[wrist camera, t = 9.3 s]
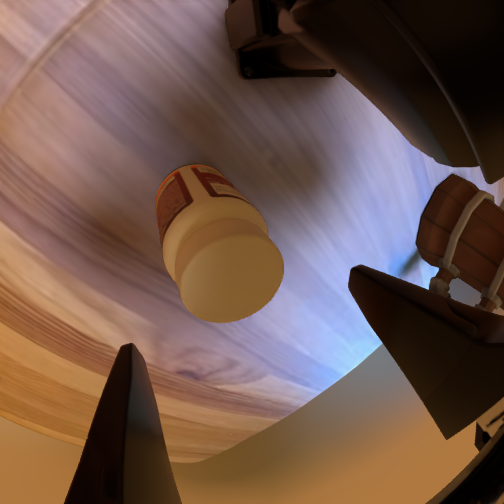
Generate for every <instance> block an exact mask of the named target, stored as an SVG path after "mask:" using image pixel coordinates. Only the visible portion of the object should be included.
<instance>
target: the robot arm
mask: <svg viewBox="0 0 504 504" xmlns="http://www.w3.org/2000/svg"><path fill="white" fill-rule="evenodd" d="M229 4H230V7H229V8H227V9H226V19H227V27H228V35H229V42H230V47H231V48H232V49H233V50H236V58H237V66H238V73H239V76H240V77H241V78H242V79H244V80H252V79H264V78H280V77H334V76H335V75H336V73H337V72H338V73H339V74H340V75H342V76H343V77H344V78H345V79H346V80H348V81H349V82H350V83H351V84H352V85H353V86H354V87H356V88H357V89H358V90H359V91H360V92H361V93H362V94H363V95H364V96H365V97H366V98H368V99H369V100H370V101H371V102H372V103H373V104H374V105H375V106H376V107H377V108H378V109H379V110H380V111H381V112H382V113H383V114H384V115H385V116H386V117H387V118H388V119H389V120H390V121H391V122H392V124H393V125H394V126H395V127H396V128H397V129H398V130H399V131H400V132H401V133H402V134H403V136H404V137H405V138H406V139H407V140H408V141H409V142H410V144H411V145H412V146H414V147H416V148H417V149H419V150H420V151H422V152H423V153H425V154H426V155H427V156H429V157H432V158H433V159H434V160H435V161H436V162H437V163H439V164H443V165H447V166H451V167H477V166H480V168H481V171H482V173H483V176H484V178H485V181H486V182H487V183H488V184H493V183H495V182H496V181H498V180H499V179H501V178H503V177H504V0H229ZM246 68H249V69H250V70H251V74H250V75H249V76H248V75H246V74H245V69H246ZM327 69H330V73H329V72H328V70H327ZM348 288H349V291H350V293H351V294H352V296H353V298H354V299H355V301H356V303H357V304H358V306H359V308H360V310H361V311H362V313H363V315H364V316H365V318H366V320H367V321H368V323H369V324H370V326H371V327H372V329H373V330H374V332H375V333H376V334H377V336H378V337H379V338H380V340H381V341H382V343H383V344H384V346H385V347H386V348H387V350H388V351H389V353H390V354H391V356H392V357H393V358H394V360H395V361H396V363H397V364H398V366H399V367H400V369H401V370H402V371H403V373H404V374H405V376H406V378H407V379H408V380H409V382H410V383H411V385H412V386H413V388H414V390H415V391H416V393H417V394H418V395H419V397H420V399H421V400H422V402H424V405H425V407H426V408H427V410H428V412H429V413H430V415H431V416H432V418H433V419H434V421H435V423H436V424H437V426H438V428H439V429H440V431H441V432H442V434H443V436H444V437H445V439H446V440H448V439H449V438H451V437H452V436H454V435H455V434H457V433H458V432H460V431H461V430H462V429H464V428H465V427H467V426H468V425H470V424H471V423H472V422H474V421H475V420H476V421H477V422H476V435H475V446H476V448H477V449H478V450H479V453H478V454H477V455H476V457H475V458H474V459H473V460H472V461H471V462H470V463H469V464H468V465H467V466H466V467H465V468H464V469H463V471H461V472H460V473H459V474H458V475H457V476H456V477H455V478H454V479H453V480H452V481H451V482H450V483H449V484H448V485H447V486H446V487H445V488H443V489H442V490H441V491H440V492H439V493H438V494H437V495H435V496H434V497H433V498H432V499H431V500H429V501H428V502H427V503H426V504H504V316H502V315H498V314H494V313H491V312H488V311H485V310H482V309H478V308H475V307H472V306H469V305H466V304H463V303H461V302H458V301H455V300H453V299H450V298H448V297H444V296H443V295H440V294H438V293H435V292H433V291H430V290H427V289H425V288H422V287H420V286H417V285H415V284H412V283H409V282H407V281H404V280H402V279H399V278H396V277H394V276H391V275H388V274H386V273H383V272H380V271H378V270H375V269H372V268H370V267H367V266H364V265H357V266H355V267H353V268H351V270H350V276H349V282H348ZM87 437H88V439H86V443H85V446H84V449H83V452H82V455H81V458H80V462H79V464H78V467H77V470H76V472H75V475H74V478H73V480H72V483H71V486H70V488H69V491H68V494H67V496H66V499H65V502H64V504H182V502H181V499H180V496H179V493H178V490H177V486H176V483H175V480H174V476H173V472H172V469H171V465H170V461H169V457H168V453H167V449H166V445H165V441H164V436H163V432H162V427H161V422H160V417H159V412H158V407H157V403H156V399H155V396H154V392H153V389H152V385H151V382H150V378H149V374H148V370H147V367H146V363H145V360H144V358H143V356H142V355H141V353H140V352H139V350H138V349H137V347H136V346H135V345H134V344H133V343H129V344H125V345H122V346H121V347H120V349H119V352H118V354H117V356H116V359H115V361H114V364H113V366H112V369H111V371H110V374H109V377H108V379H107V382H106V384H105V387H104V390H103V392H102V395H101V398H100V401H99V403H98V406H97V409H96V412H95V415H94V418H93V421H92V424H91V427H90V430H89V433H88V436H87Z"/></svg>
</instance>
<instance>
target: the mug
mask: <svg viewBox="0 0 504 504" xmlns="http://www.w3.org/2000/svg"><path fill="white" fill-rule="evenodd" d="M416 244H417V247H418V249H419V252H420V254H421V257H422V259H424V260H425V261H426V262H427V263H429V264H430V265H431V266H434V267H438V268H439V271H438V273H437V274H436V276H435V277H432V278H431V280H430V284H429V290H430V291H433V292H435V293H438V294H440V295H443V296H444V297H448V298H450V297H451V296H450V294H449V293H448V291H449V289H450V288H449V283H450V282H451V280H452V279H455V278H457V277H458V278H459V279H461V280H462V281H464V282H466V283H467V284H469V285H470V286H471V287H473V288H474V289H476V290H477V291H479V292H480V293H481V299H482V300H481V302H480V303H479V305H478V304H476V305H475V308H478V309H482V310H485V311H488V312H491V313H492V312H493V310H494V309H498V308H499V307H500V308H502V309H503V310H504V211H503V210H502V209H501V208H500V207H498V206H497V205H496V204H495V203H494V196H493V195H491V194H489V193H487V192H485V191H483V190H479V189H478V188H477V186H476V185H475V184H473V183H472V182H470V181H468V180H466V179H464V178H462V177H459V176H457V175H455V174H452V175H451V176H450V177H449V178H448V179H447V180H445V181H444V182H443V183H442V184H441V185H439V186H438V187H437V188H436V190H435V192H434V194H433V196H432V198H431V200H430V202H429V204H428V206H427V208H426V210H425V212H424V213H423V215H422V219H421V224H420V229H419V234H418V239H417V243H416ZM450 299H451V298H450Z"/></svg>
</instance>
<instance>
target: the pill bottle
mask: <svg viewBox="0 0 504 504" xmlns="http://www.w3.org/2000/svg"><path fill="white" fill-rule="evenodd" d="M156 215H157V222H158V228H159V235H160V242H161V248H162V255H163V260H164V263H165V266H166V269H167V271H168V273H169V274H170V276H171V277H172V279H173V280H174V281H175V282H176V283H177V286H178V289H179V293H180V296H181V299H182V301H183V303H184V305H185V306H186V308H187V309H188V310H189V311H190V312H191V313H192V314H193V315H195V316H196V317H198V318H200V319H202V320H205V321H209V322H216V323H226V322H233V321H237V320H240V319H243V318H246V317H248V316H250V315H252V314H254V313H255V312H257V311H259V310H260V309H261V308H263V307H264V306H265V305H266V304H267V303H268V302H269V301H270V300H271V299H272V298H273V297H274V295H275V294H276V292H277V290H278V289H279V287H280V284H281V282H282V279H283V274H284V262H283V258H282V255H281V253H280V251H279V249H278V248H277V247H276V245H275V244H274V243H273V242H272V240H271V239H270V238H269V235H268V230H267V226H266V223H265V221H264V219H263V217H262V216H261V214H260V213H259V211H258V210H257V209H256V208H255V207H254V206H253V205H252V204H251V203H250V202H249V201H248V200H247V199H246V198H245V197H244V196H243V195H242V194H241V193H240V192H239V191H237V190H236V188H235V187H234V186H233V185H232V184H231V183H230V182H229V181H228V180H227V179H226V178H225V177H224V176H223V175H222V174H221V173H220V172H218V171H217V170H215V169H214V168H212V167H209V166H206V165H199V164H194V165H187V166H184V167H180V168H178V169H176V170H175V171H173V172H172V173H171V174H169V175H168V176H167V177H166V178H165V180H164V181H163V182H162V184H161V185H160V187H159V189H158V192H157V196H156Z"/></svg>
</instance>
